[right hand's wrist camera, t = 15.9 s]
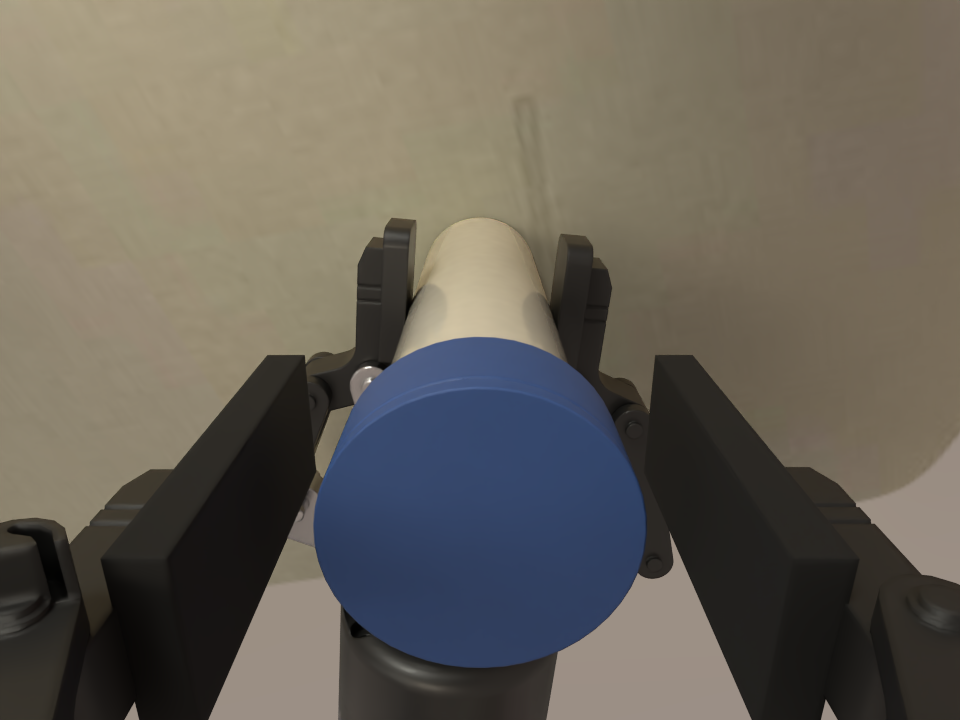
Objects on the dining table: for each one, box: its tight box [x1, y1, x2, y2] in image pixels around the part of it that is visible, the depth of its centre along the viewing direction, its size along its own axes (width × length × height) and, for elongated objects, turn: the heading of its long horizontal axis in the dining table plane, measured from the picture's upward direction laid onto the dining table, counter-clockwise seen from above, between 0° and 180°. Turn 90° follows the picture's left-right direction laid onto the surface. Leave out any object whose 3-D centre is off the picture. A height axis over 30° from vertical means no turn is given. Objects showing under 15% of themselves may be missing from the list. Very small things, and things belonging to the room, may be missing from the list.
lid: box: [313, 337, 647, 668], centre depth 11 cm, size 5×5×2 cm
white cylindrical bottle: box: [391, 218, 568, 365], centre depth 18 cm, size 4×4×16 cm
